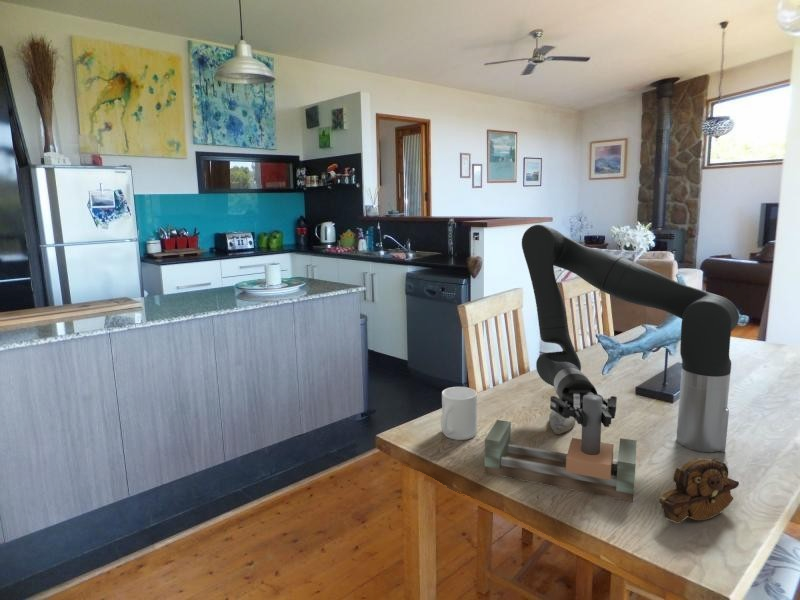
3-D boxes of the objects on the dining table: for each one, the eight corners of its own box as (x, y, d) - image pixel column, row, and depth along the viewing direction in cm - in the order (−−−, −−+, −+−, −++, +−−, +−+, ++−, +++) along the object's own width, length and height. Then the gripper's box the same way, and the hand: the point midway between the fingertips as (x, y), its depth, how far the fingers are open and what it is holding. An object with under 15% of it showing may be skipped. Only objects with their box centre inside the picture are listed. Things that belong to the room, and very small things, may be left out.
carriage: (612, 458, 106) (616, 392, 103) (610, 480, 98) (613, 409, 95) (571, 451, 109) (573, 387, 106) (565, 471, 101) (567, 403, 98)
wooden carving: (678, 538, 86) (683, 482, 84) (654, 522, 90) (658, 469, 88) (742, 510, 93) (747, 458, 91) (717, 497, 97) (722, 447, 95)
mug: (458, 450, 118) (457, 407, 116) (427, 441, 123) (426, 399, 121) (483, 431, 127) (483, 390, 125) (453, 423, 132) (453, 384, 130)
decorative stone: (545, 435, 124) (545, 422, 124) (553, 410, 138) (553, 398, 137) (572, 439, 122) (572, 425, 121) (577, 413, 136) (578, 401, 135)
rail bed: (634, 475, 105) (636, 440, 104) (633, 501, 96) (635, 464, 95) (497, 451, 117) (497, 419, 115) (484, 472, 108) (484, 439, 106)
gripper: (541, 373, 115) (558, 403, 99) (608, 372, 114) (636, 403, 97) (541, 405, 117) (557, 440, 100) (606, 405, 116) (634, 441, 99)
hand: (596, 421), depth 99 cm, fingers closed on carriage, 3 cm apart
